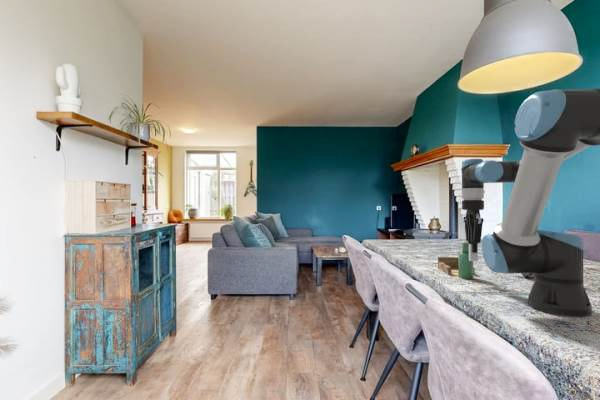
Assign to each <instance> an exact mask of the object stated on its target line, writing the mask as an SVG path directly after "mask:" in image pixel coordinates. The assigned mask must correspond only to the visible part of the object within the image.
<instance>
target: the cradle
mask: <svg viewBox="0 0 600 400" xmlns="http://www.w3.org/2000/svg"><path fill="white" fill-rule="evenodd" d="M437 269H438V270H440V271H441V272H443V273H444V274H445V275H447V276H449V277H450V278H452V279H455V280H457V279H459V280H463V279H462V278H459V273H458V256H457V257H454V256H438V257H437ZM475 269H476V268H475V267H474V266H473V279H472V280H482V277H479V276H478V275H476V272H475Z"/></svg>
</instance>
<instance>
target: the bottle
mask: <svg viewBox="0 0 600 400" xmlns="http://www.w3.org/2000/svg"><path fill="white" fill-rule="evenodd" d="M461 246H462V247H461V250H462V251H460V252H459V251H458V254H457V257H458V273H459V278H462V279H461V280H474V279H473V267H474V261H469V243H468V241H466V240H461Z"/></svg>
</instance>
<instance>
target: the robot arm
mask: <svg viewBox="0 0 600 400" xmlns="http://www.w3.org/2000/svg"><path fill="white" fill-rule="evenodd" d="M514 126H515V127H514V133H515V135H516V136H517V138H518V139H519V145H521V147H522V148H523V153H522V156H521V159H519V160H512V161H511V160H507V161H505V160H504V161H501V160H500V161H499V160H498V161H497V160H483V159H482V158H469V159H464V160H462V162H461V169H460V171H461V199H463V200H461V210H464V211H466V212H465V216H463V218H462V219H463V222H464V231H465V241H468V243H469V261H473V262H479V258H478V257H479V254H478V253H479V250H478V249H479V244H480V243H481V252H482V257H483V261H484V262H485V265H486V266H487V268H488V269H489V270H490V271H491V272H492V273H497V274H506V275H508V274H521V273H535V276H534V281H533V284H532V286H531V288H530V291H529V294H528V297H527V304H528V306H529V307H531V308H532V309H534V310H537V311H541V312H543V313H547V314H552V315H559V316H566V317H588V316H591V315H592V313H593V310H592V309H593V306H592V303H591V301H590V298H589V296H588V293H587V291H586V289H585V286H584V252H585V249H584V242H583V238H582V237H581V236H580V235H577V234H572V233H568V232H567V233H565V232H564V233H563V232H557V231H549V230H541V229H538V228H539V225H540V223H541V220H542V218H543V215H544V211H545V209H546V207H547V204H548V201H549V198H550V195H551V193H552V190H553V189H554V188H553V187H554V185H555V183H556V179H557V177H558V174H559V170H560V168H561V165H562V163H563V162H564V161H566V160H567V159H570V158H572V157H573V156H575V155H577V154H578V153H580V152H582V151H584V150H586V149H587V148H589V147H597V146H600V88H599V87H598V88H589V89H588V88H585V89H584V88H583V89H582V88H579V89H577V88H575V89H574V88H572V89H551V90H542V91H541V90H540V91H536V92H534V93H532V94H531V95H529V96H528V97H527V98H526V99H525V100H523V102H522V103H521V105H520V106H519V108H518V110H517V113H516V115H515V119H514ZM490 183H491V184H492V183H493V184H495V183H496V184H497V183H499V184H500V183H502V184H504V183H505V184H506V183H513V187H512V190H511V193H510V196H509V199H508V203H507V205H506V206H507V207H506V210H505V212H504V217H503V219H502V221H501V222H500V223H498V224H496V225H495V227H494V229H493V232H492V234H489V233H488V234H485V235H484V236H483V237H482V232H483V224H484V218H482V217H481V213H480V211H483V210H484V209H485V201H484V200H483V199H484V198H485V194H486V193H485V189H484V188H485V184H490Z"/></svg>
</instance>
